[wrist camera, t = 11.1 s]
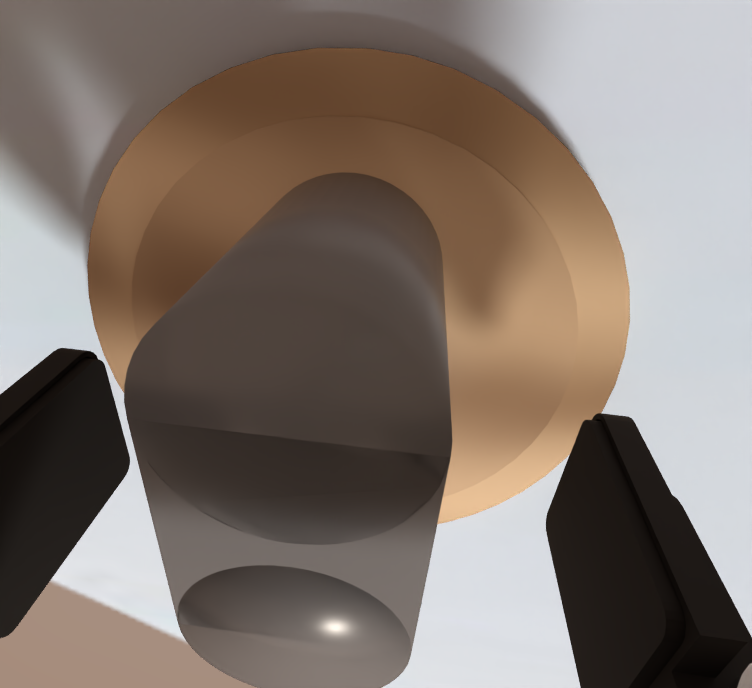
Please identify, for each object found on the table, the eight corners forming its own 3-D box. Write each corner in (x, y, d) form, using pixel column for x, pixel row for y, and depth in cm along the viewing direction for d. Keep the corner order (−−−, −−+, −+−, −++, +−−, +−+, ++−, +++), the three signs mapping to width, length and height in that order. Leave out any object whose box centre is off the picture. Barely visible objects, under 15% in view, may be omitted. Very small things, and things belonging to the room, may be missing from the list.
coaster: (42, 20, 10) (11, 18, 10) (716, 77, 10) (740, 80, 9) (151, 484, 18) (138, 503, 17) (542, 534, 17) (547, 556, 16)
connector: (253, 163, 11) (89, 267, 6) (456, 182, 10) (480, 309, 5) (274, 525, 17) (205, 733, 12) (401, 541, 17) (389, 760, 12)
